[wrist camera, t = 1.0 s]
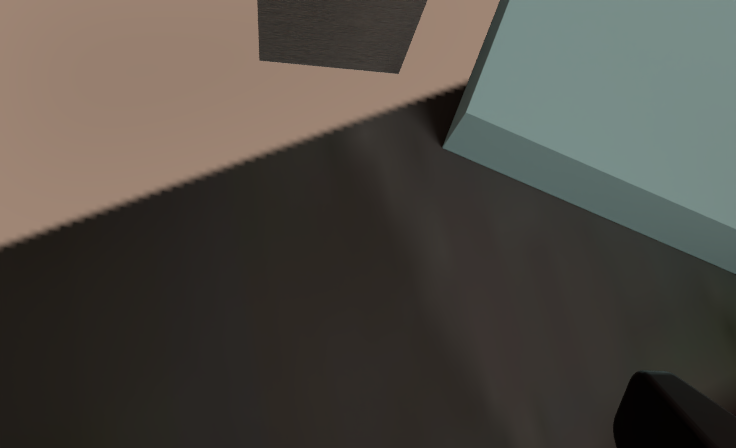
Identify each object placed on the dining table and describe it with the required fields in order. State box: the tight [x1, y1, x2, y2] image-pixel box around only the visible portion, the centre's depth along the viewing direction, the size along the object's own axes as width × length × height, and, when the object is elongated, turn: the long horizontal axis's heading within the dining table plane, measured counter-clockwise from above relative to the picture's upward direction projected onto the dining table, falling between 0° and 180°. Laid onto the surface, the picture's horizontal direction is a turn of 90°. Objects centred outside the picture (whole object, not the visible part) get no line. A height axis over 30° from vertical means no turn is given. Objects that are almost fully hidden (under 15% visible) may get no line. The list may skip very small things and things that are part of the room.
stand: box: [442, 0, 736, 274], centre depth 24 cm, size 12×12×3 cm
